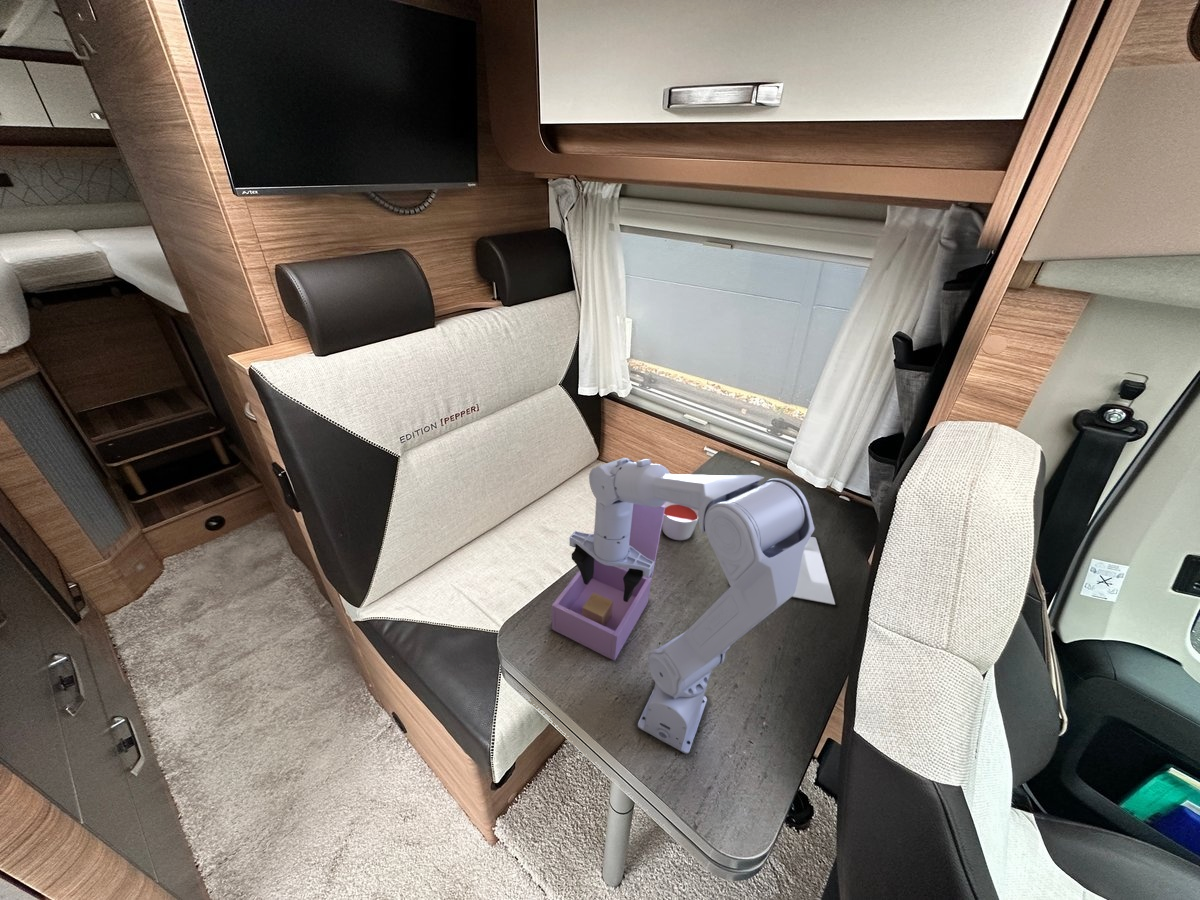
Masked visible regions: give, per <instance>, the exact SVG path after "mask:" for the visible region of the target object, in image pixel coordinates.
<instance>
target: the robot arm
mask: <svg viewBox="0 0 1200 900" xmlns="http://www.w3.org/2000/svg"><path fill="white" fill-rule="evenodd" d="M588 475H589V476H588V480H589V487H590V490H591V492H592V494H593V496H594V498H595V514H594V528H595V529H593V533H586V532H581V531H578V530H574V532H573V533H572V534H570V536H569V543H568V544H569V547H572V548H574V551H572V553H571V560H572V561H573V562H574V563H575V565H576V566H577V568H578V571H579V570H580V572H581V575H582V578H583V582H584V584H586V585H587V584H588V583H589V582H590V580H591V579H592V578H593V573H594V559H595V560H597V561H598V562H600V563H601V564H604V565H609V566H616V567H624V568H627V569H629V568H630V569H629V570H628V571H627V573H626V574H625V576H624V577H623V581H624V587H625V590H624V596H623V601H625V602H628V601H629V599H630V597H631V596H632V593H633V590H634V588H635V587H636V586H637V584H638V583H639V582H640V580H641V579H642V577H643V576H645V577H648V578H650V577H649V576H650V575H651V573H652V571H653V568H654V569H655V566H654V561H652V560H650V559H648V558H646V557H645V556H643V555H642V554H641V553H639V552H638V551H637V550H635V549H634V548H633V547H631V546H630V545H629V541H630V532H631V522H632V512H633V504H638V505H643V506H648V507H660V506H662V505H663V504H665V503H666V502H671V503H674V504H678V505H681V506H685V507H689V508H692V509H696V510H699V511H698V527H699V530H700V531H701V532H702V533H705V534H706V537H707V540H708V542H709V544H710V546H711V549H712V551H713V554H714V555H715V557H716V559H717V561H718V564H719V565H720V568H721V570H722V573H723V574H724V576H725V578H726V581H727V583H728V584H729V588H728V589H727V590H726V591H725V592H724V593H722V595H721V596H719V598H718V599H716V601H715V602H713V604H712V605H710V606H709V608H707V610H706V611H705V612H703V614H701V616H700V617H699V618H697V620H696V621H695V622H694V623H693V624H692V625H690V627H688V629H687V630H686V631H683V632H682V633H680V634H679V635H678V636H677V635H676V637H674V638H673V639H671V640H669V641H667V642H666V643H664V644H663V645H661V646H660V647H658V648H654V649H652V650H651V651H650V652H649V653H648V657H647V666H648V670H649V673H650V675H651V678H652V680H653V681H654V687H653V689H652V691H651V694H650V696H649V698H648V700H647V703H646V705H645V707H644V708H643V711H642V713H641V716H640V718H639V720H638V722H637V728H638V729H640V730H642V731H643V732H645V733H647V734H649V735H651V736H652V737H654V738H656V739H658V740H660V741H661V742H663V743H664V744H667V745H669V746H670V747H672V748H674V749H676V750H678V751H680V752H681V753H683V754H686V755H687V754H689V753H690V750H691V748H692V745H693V742H694V739H695V736H696V733H697V731H698V727H699V725H700V722H701V719H702V716H703V713H704V710H705V707H706V705H707V701H708V697H706V695H705V694H706V690H707V686H708V683H709V680H710V675H711V674H712V673H713V670H714V669H715V668H716V667H720V666H721V665H723V663H724V662H725V658H726V653H727V651H728V650H730V648H731V646H732V645H733V644H735V643H736V642H737V641H738V640H739V639H741V638H742V637H743V636H745V635H746V634H747V633H748V632H750V631H751V630H752V629H753V628H755V627H756V626H758V624H760V623H761V622H762V621H763V620H765V619H766V618H767V617H769V616H770V615H771V614H772V613H773V612H775V611H776V610H777V609H779V608H780V607H781V606H783V604H785V603H786V602H788V600H790V599H791V598H793V597H792V596H793V594H794V593H795V591H796V587H797V581H798V576H799V571H800V566H801V561H802V556H803V551H804V547H805V545H806V544H807V542H808V540H809V538H810V537H812V535H813V534H814V532H815V525H814V522H813V521H814V520H813V517H812V513H811V510H810V506H809V503H808V499H807V498H806V496H805V494H804V493H803V492H802V491H801V489H800V488H798V486H797V485H795V484H794V483H792V482H791V481H789V480H787V479H784V478H779V477H775V478H770V479H768V480H766V481H764V482H763V483H761V484H759V483H760V482H761V481H762V480H763V479H765V476H761V475H758V474H736V475H735V474H734V475H733V474H732V475H717V474H682V473H681V474H680V473H679V474H678V473H675V474H674V473H671V472H670V471H669V469H668V468H667V467H666V466H664V465H663V464H659V463H652V461H651V459H650V458H643V459H640V460H637V461H635V460H633V459H630V458H628V457H622V458H619V459H616V460H613V461H610V462H606V463H604V464H600V465H598V466H596V467H594V468H591V470H590V472H589V474H588ZM653 572H654V571H653Z"/></svg>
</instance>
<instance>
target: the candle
mask: <svg viewBox="0 0 1200 900" xmlns="http://www.w3.org/2000/svg"><path fill="white" fill-rule="evenodd" d="M663 505H664V506H665V512H664V517H663V523H662V528H661V530H662V532H663V533H664V535H665V536H666V537H668V538H669V539H672V540H675V541H685V540H688V539H690V538H691V537H692V535H693V534H694V532H695V529H696V527H697V524H698V523H699V521H698V511H699V510H696V509H692V508H689V507H685V506H681V505H678V504H674V503H671V502H666V503H665V504H663Z"/></svg>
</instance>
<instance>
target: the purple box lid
mask: <svg viewBox="0 0 1200 900" xmlns="http://www.w3.org/2000/svg"><path fill="white" fill-rule="evenodd" d="M664 512H665V506H664V505H662V506H660V507H648V506H643V505H638V504H633V512H632V522H631V532H630V541H629V545H630V546H631V547H633V548H634V549H635V550H637V551H638V552H639V553H641V554H642V555H643V556H645V557H646V558H648V559H650V560H652V561H654V568H653V571H652V573H651V575H650V576H649V578H651V579H652V577H653V576H654V571H655V565H656V561H657V560H656V559H657V554H658V549H659V543H660V538H661V533H662V523H663V517H664ZM593 528H594V529H595V527H593ZM594 529H593V530H594ZM628 569H630V568H628Z"/></svg>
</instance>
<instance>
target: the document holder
mask: <svg viewBox="0 0 1200 900" xmlns="http://www.w3.org/2000/svg"><path fill="white" fill-rule="evenodd" d="M791 598H795V599H800V600H806V601H811V602H816V603H821V604H822V603H823V604H828V605H832V606H833V605H834V606H836V602H835V598H834V594H833V592H832V588H831V585H830V581H829V578H828V574H827V572H826V568H825V564H824V561H823V558H822V554H821V550H820V547H819V544H818V541H817V537H814V536H811V537H810V538H809V540H808V542H807V544H806V545H805V547H804V551H803V556H802V561H801V566H800V571H799V576H798V581H797V587H796V591H795V593H794V594H793V596H792V597H791Z"/></svg>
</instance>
